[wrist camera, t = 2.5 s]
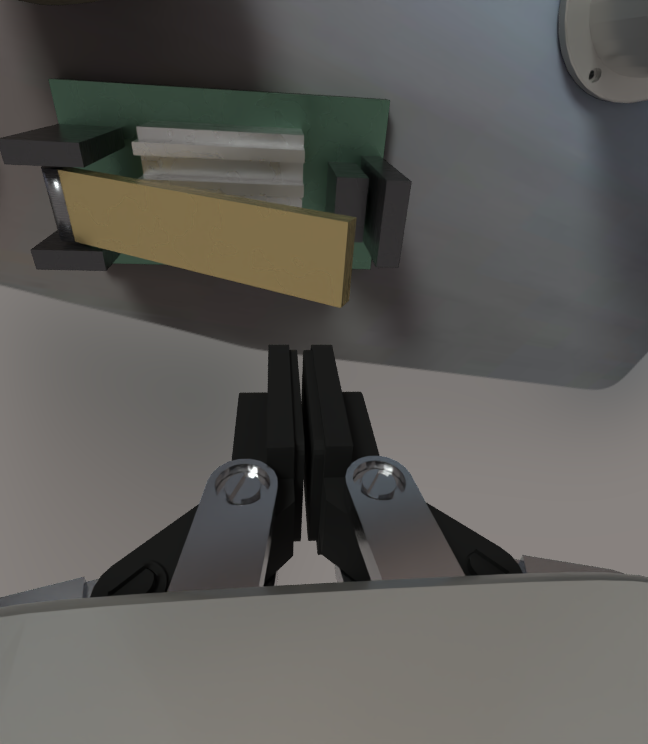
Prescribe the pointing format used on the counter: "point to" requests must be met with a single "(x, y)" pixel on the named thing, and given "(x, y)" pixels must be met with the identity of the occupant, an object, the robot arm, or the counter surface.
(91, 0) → the cantaloupe
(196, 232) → the retention strap
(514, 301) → the counter surface
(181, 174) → the cooling block
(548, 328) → the counter surface
